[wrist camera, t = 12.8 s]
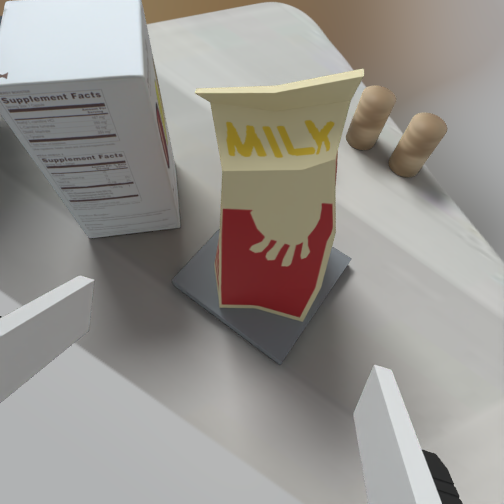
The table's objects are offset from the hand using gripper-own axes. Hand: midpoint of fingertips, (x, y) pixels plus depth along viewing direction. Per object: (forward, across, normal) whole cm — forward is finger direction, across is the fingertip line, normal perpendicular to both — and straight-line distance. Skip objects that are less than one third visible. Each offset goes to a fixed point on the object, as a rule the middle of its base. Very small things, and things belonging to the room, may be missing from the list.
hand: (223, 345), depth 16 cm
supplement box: (+21, -15, 0) cm, 26 cm away
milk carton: (+17, 0, -2) cm, 17 cm away
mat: (+18, 0, -3) cm, 18 cm away
